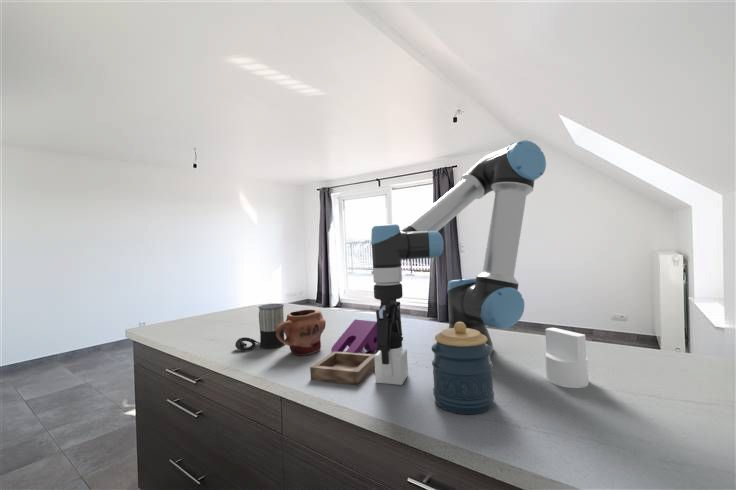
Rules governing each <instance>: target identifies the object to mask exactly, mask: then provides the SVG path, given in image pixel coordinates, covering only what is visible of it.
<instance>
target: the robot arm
mask: <svg viewBox="0 0 736 490" xmlns="http://www.w3.org/2000/svg"><path fill="white" fill-rule="evenodd" d="M546 168H547V161H546V155H545V154H544V151H542V148H541V147H540V146H539V145H538V144H537V143H535V142H533V141H530V140H526V139H525V140H520V141H517V142H512V143H510V144H509V145H507V146H505V147H502V148H500V149H498V150H496V151H495V150H494V151H493V152H490V153H488V154H487V155H485V156H484V157H482V158H481V159H480V160H479V161H477V162H476V163H475V164H474V165H473V166H472V167H471V168H470V169H469V170H467V172H465V173H464V174H463V175H462V176H461V177H460V181H459V182H458V183H457V184H456V185H455V186H454V187H451V189H449V191H447V192H446V193H445V194H444V195H443V196H441V197H440V198H439V199H438V200H437V201H435V202H434V203H433V204H432V205H430V206H429V207H428V208H427V209H426V210H425V211H423V212H422V213H421V214H420V215H419V216H417V217H416V218H415V219H414V220H413V221H412V222H410V223H409V224H408V225H407V226H406V227H404V228H403V229H400V226H399V225H398V224H391V223H390V224H378V225H377V224H376V225H374V226H373V227H372V228H371V242H370V244H371V254H372V256H371V257H372V271H371V275H372V276H373V278H372V279H373V283H375V284H374V285H373V298H374V299H375V300H379V301H380V304H379V305H380V306H379V309H376V311H375V317H376V322H377V351H376V352H379V351H381V371H382V376H389V377H392V376H393V369H392V350H390V342H391V332H397V333H399V334H401V335H402V342H403V341H404V337H403V330H402V328H403V327H402V317H401V301H397V300H399V299H402V298H403V295H404V294H403V284H402V283H401V282H403V275H402V274H403V273H402V260H403V261H405V260H422V259H423V260H424V259H429V260H430V259H434V258H438V257H441V256H442V255H443V250H444V238H443V235H442V234H441V233H440V232H439V231H441V229H442V228H444V227H445V226H446V225H447V224H448V223H449V222H450V221H452V220H453V219H454V218H455V217H456V216H457V215H459V214H460V213H461V212H462V211H463V210H464V209H466V208H467V207H468V206H470V205H471V204H472V202H474V201H475V200H480V199H483V197H485V195H487V194H489V193H491V192H494V199H493V207H492V211H491V218H490V224H489V230H488V231H489V232H488V237H487V242H486V243H487V244H486V249H485V254H484V261H483V267H482V271H481V272H480V273H479V274H478V275H476V276H475V278H463V279H452V280H449V281H448V282H447V289H446V290H447V291H446V293H447V303H448V304H447V306H448V309H447V310H448V328H447V329H449V328H454V325H455V323H456V322H463V323H464V324H465V325H466V328H469V329H474V330H477V331H479V332H480V333H481V334H483V335H485V336H486V337H487V342H486V344H487V345H489V346H490V347H491V348H492V352H494V343H493V341H492V338H491V335H490V333H489V330H488V328H487V327H489V328H495V329H503V330H504V329H509V328H511V327H513V326H514V325H515V324H517V323H518V322H519V321H520V320H521V318H522V317H523V315H524V311H525V299H524V298H523V294H522V293H521V292H520V291H519V281H518V280H516V278H515V272H516V265H517V257H518V253H519V251H518V250H519V246H520V241H521V234H522V226H523V222H524V221H523V219H524V212H525V207H526V201H527V196H529V195H530V194H531V193H532V192H533V191H534V187H535V181H536V180H537V179H539V178H540V177H541V176H543V174H544V173H545V171H546ZM383 345H384V346H383Z"/></svg>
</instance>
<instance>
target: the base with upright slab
mask: <svg viewBox="0 0 736 490" xmlns="http://www.w3.org/2000/svg"><path fill="white" fill-rule="evenodd" d="M544 331H545V347H546V349H545V351H546V352H545V354H544V355H545V357H544V358H545V377H546V380H547V381H548V382H549V383H551V384H553V385H556V386H559V387H563V388H569V389H570V388H571V389H581V388H586V387H588V386H589V369H588V368H589V366H588V365H589V364H588V357H587V344H586V343H587V341H586V340H587V339H586V334H583V333H579V332H574V331H571V330H566V329H562V328H558V327H548V328H547V327H546V328H545V330H544Z"/></svg>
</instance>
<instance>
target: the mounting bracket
mask: <svg viewBox="0 0 736 490" xmlns="http://www.w3.org/2000/svg"><path fill="white" fill-rule="evenodd" d="M347 347H348V348H347ZM346 348H347V349H346ZM363 349H364V350H365V351H366V352H371V351H372V353H374V351H375V352H377V351H376V350H377V321H373V320H365V319H364V320H363V319H354V320H353V321H352V322H351V324H349V326H348V327H347V328H346V329H345V330H344V332H343V333H342V335H340V336H339V338H337V341H335V343H334V344H333V345H332V346H331V350H330V351H331V353H332V352H333V351H336V352H349V353H361V352H362V351H363ZM344 350H345V351H344ZM331 353H330V354H331Z"/></svg>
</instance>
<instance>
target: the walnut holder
mask: <svg viewBox="0 0 736 490" xmlns="http://www.w3.org/2000/svg"><path fill="white" fill-rule="evenodd" d="M375 355H376V353H375V354H373V353H361V352H360V353H349V352H346V351H343V352H336V351H333V352H332V353H329V354H327V355H326V356H324V357H323V358H322V359H320V360H318V361H317V362H316V363H315V364H313V365H311V366H310V367H309V369H310V380H311V381H318V382H325V383H327V382H328V383H337V384H345V385H355V386H360V385H361V384H362V382H364V381H365V380H366V378H367V377H368V376H369V375H370V374H371V373H372V372H373V371H375V359H374V356H375Z"/></svg>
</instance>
